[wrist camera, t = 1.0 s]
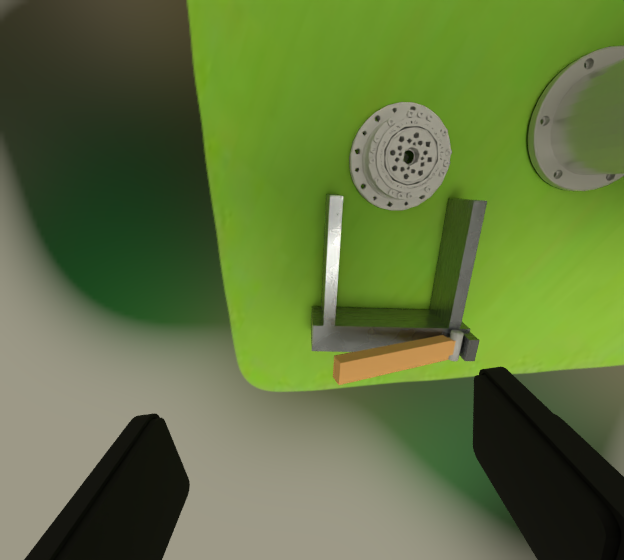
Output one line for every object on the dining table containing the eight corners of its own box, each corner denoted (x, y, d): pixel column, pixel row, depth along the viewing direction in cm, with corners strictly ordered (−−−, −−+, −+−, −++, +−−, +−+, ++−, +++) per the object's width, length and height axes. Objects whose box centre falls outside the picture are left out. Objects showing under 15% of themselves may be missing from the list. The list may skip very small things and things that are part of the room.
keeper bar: (456, 329, 30) (466, 334, 29) (451, 353, 31) (460, 359, 30) (334, 351, 25) (340, 359, 24) (332, 380, 26) (338, 388, 25)
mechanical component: (428, 216, 32) (457, 116, 29) (447, 220, 28) (483, 104, 25) (340, 201, 31) (360, 96, 28) (345, 203, 27) (369, 81, 24)
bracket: (469, 199, 31) (512, 202, 25) (443, 331, 36) (473, 363, 29) (316, 193, 31) (318, 195, 24) (311, 329, 35) (312, 360, 29)
